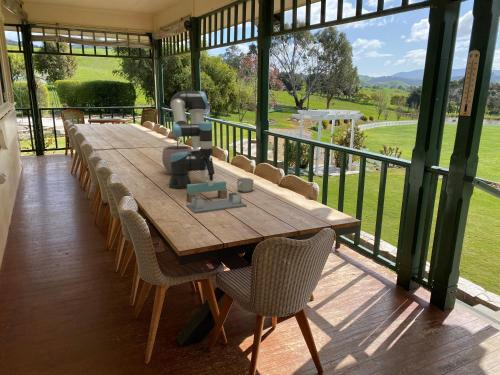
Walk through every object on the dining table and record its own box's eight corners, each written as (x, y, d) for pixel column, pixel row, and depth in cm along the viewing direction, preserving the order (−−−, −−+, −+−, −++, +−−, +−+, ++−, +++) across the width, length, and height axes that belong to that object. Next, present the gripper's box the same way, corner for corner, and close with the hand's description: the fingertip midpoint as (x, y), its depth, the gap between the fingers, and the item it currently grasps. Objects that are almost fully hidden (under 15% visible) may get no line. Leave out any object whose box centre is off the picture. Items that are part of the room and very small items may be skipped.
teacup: (244, 188, 263) (244, 176, 261) (256, 190, 256) (257, 178, 254) (230, 192, 253) (230, 180, 251) (243, 195, 246) (243, 182, 244)
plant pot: (199, 174, 302) (198, 136, 295) (170, 178, 289) (168, 138, 282) (185, 169, 321) (184, 132, 314) (158, 172, 308) (156, 134, 301)
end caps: (191, 205, 220) (190, 197, 218) (236, 200, 231) (236, 192, 230) (195, 209, 213) (194, 200, 212) (241, 203, 225) (241, 194, 224)
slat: (187, 192, 232) (186, 184, 230) (224, 188, 242) (224, 180, 240) (188, 194, 229) (188, 185, 228) (226, 189, 239) (226, 181, 238)
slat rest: (186, 200, 234) (186, 192, 233) (223, 195, 244) (223, 187, 243) (189, 202, 229) (189, 194, 228) (227, 198, 239) (227, 190, 238)
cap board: (186, 206, 223) (186, 204, 222) (236, 199, 236) (236, 198, 236) (194, 213, 210) (194, 211, 209) (246, 206, 223) (246, 204, 223)
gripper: (193, 145, 238) (194, 179, 243) (207, 151, 216) (208, 188, 221) (204, 145, 241) (205, 178, 246) (219, 150, 219) (220, 186, 224)
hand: (206, 183), depth 234 cm, fingers open, 13 cm apart
